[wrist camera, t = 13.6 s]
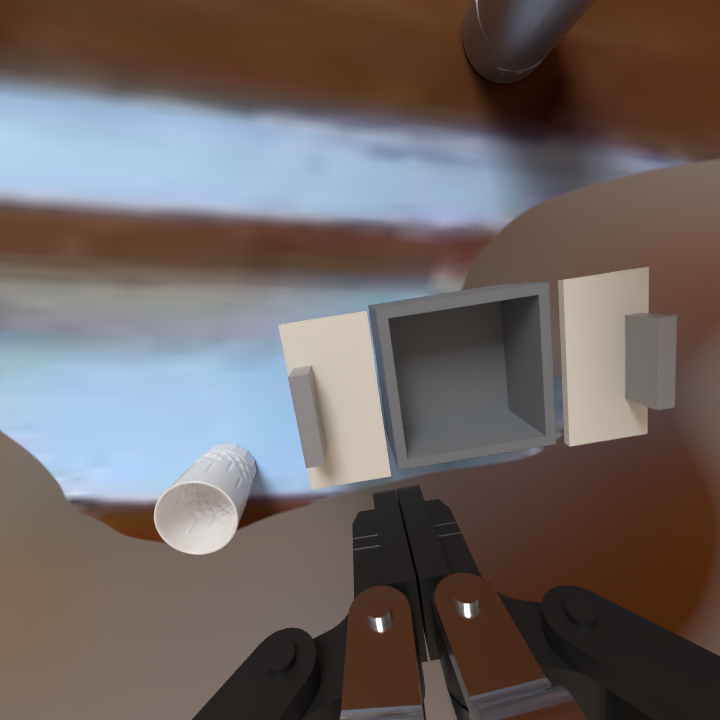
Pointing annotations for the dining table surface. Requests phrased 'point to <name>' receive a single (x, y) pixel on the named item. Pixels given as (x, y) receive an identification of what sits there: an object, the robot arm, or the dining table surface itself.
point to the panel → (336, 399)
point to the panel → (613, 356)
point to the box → (466, 373)
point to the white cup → (206, 500)
